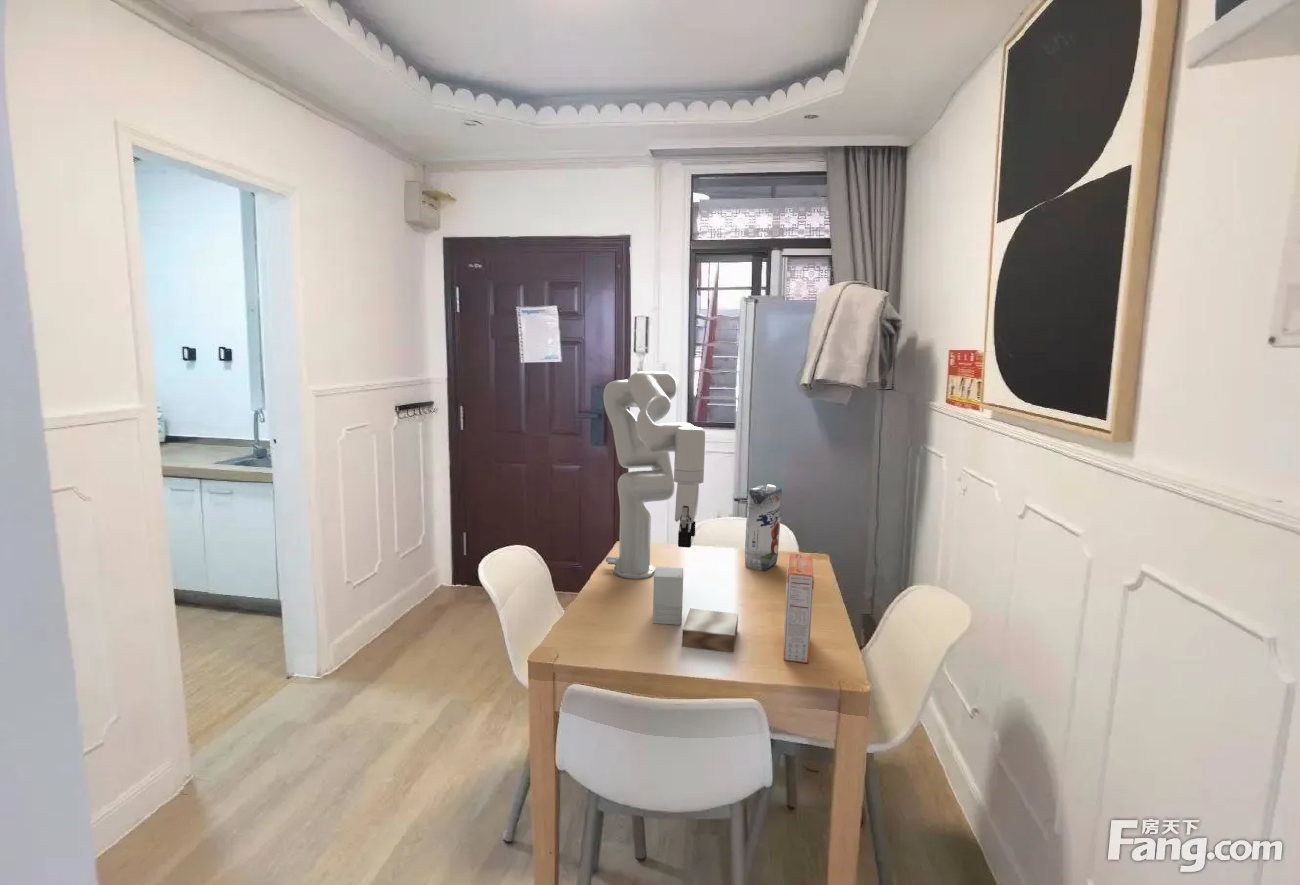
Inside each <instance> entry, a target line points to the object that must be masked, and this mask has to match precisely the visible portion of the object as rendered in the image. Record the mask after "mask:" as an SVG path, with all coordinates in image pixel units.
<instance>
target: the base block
mask: <svg viewBox="0 0 1300 885" xmlns="http://www.w3.org/2000/svg"><path fill="white" fill-rule="evenodd" d="M738 622H739V613H735V612H734V613H732V612H726V611H718V610H717V611H715V610H709V609H698V608H689V611H688V613H687V615H686V618H685V621H684V624H683V627H682V635H681V637H682V638H681V647H686V648H694V649H699V650H700V649H702V650H709V651H717V652H723V653H724V652H725V653H732V654H734V652H735V646H736V640H737V635H738Z"/></svg>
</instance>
